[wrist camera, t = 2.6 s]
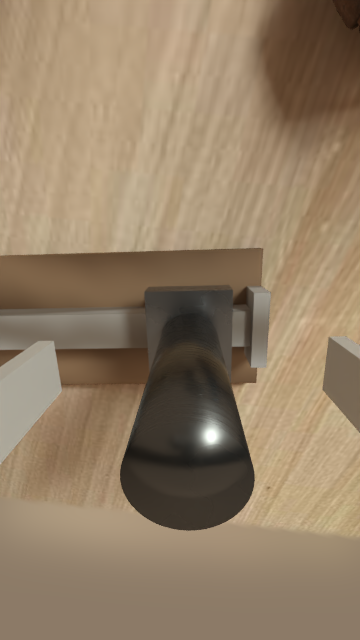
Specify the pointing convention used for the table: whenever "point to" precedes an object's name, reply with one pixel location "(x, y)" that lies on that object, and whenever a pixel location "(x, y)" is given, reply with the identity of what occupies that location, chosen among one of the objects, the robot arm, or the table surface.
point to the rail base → (121, 290)
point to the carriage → (188, 414)
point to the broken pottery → (349, 12)
